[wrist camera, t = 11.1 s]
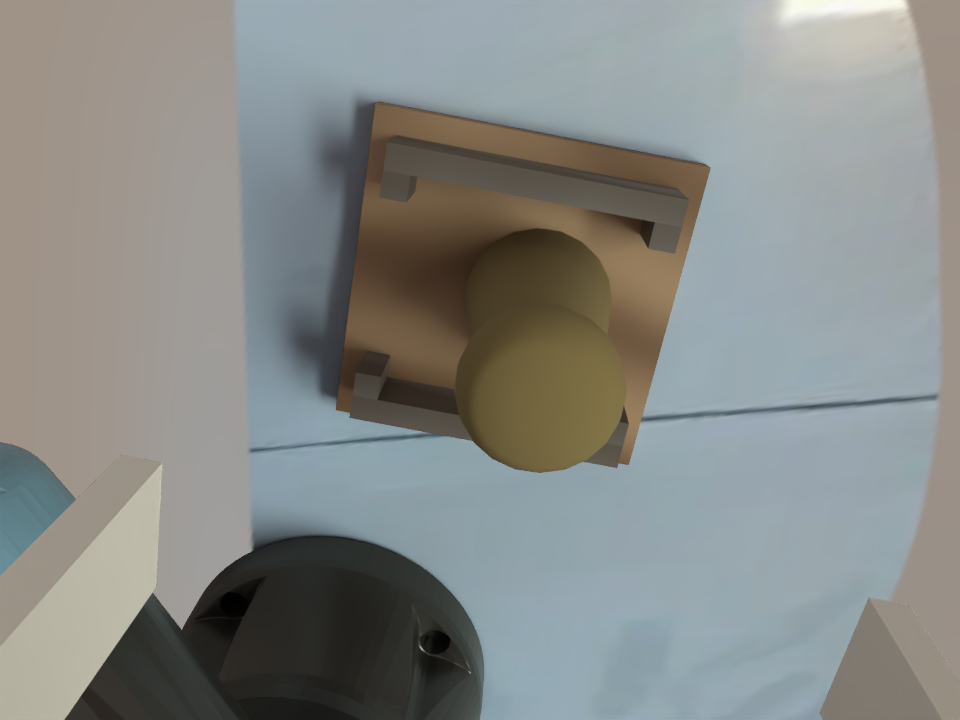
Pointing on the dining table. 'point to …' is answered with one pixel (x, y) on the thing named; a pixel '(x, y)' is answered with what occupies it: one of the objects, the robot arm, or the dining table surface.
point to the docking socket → (482, 221)
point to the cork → (539, 353)
